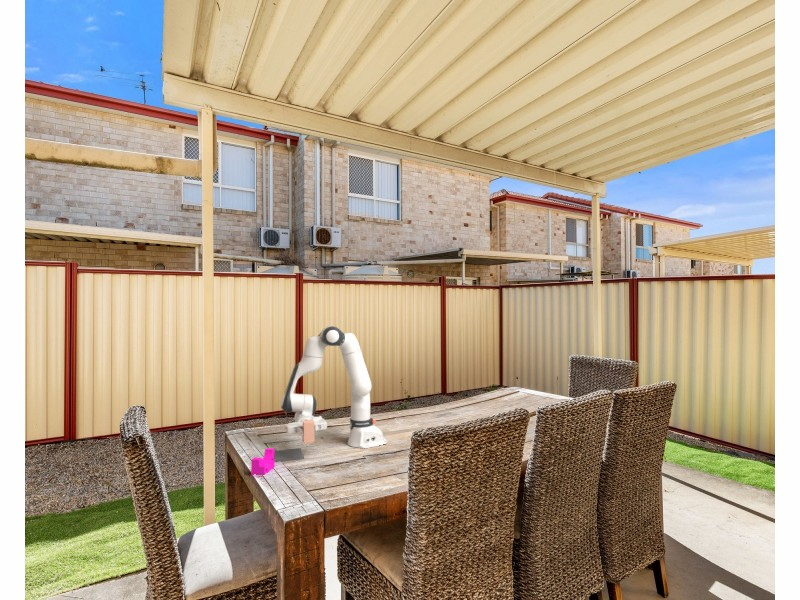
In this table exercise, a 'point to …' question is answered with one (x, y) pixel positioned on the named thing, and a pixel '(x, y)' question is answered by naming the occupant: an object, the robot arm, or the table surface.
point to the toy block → (263, 463)
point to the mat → (288, 454)
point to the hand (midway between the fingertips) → (308, 431)
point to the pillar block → (308, 431)
